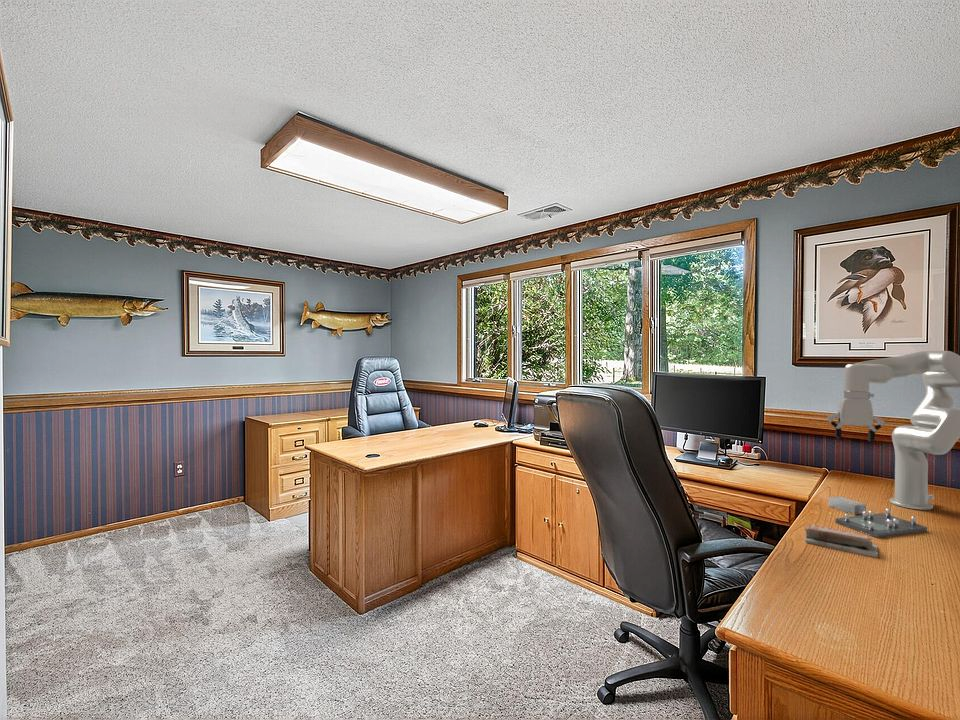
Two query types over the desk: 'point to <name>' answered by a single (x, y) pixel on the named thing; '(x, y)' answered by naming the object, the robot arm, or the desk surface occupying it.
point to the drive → (847, 505)
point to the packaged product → (841, 540)
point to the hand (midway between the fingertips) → (854, 440)
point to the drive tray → (881, 524)
